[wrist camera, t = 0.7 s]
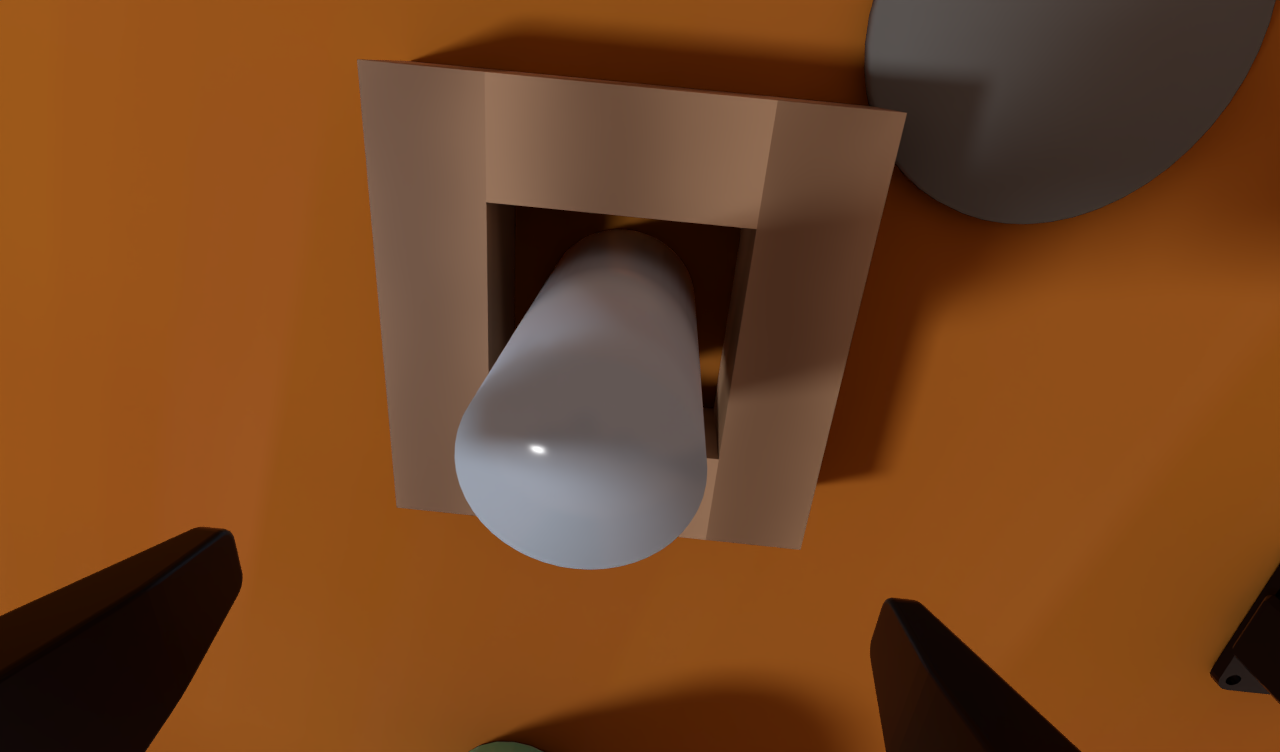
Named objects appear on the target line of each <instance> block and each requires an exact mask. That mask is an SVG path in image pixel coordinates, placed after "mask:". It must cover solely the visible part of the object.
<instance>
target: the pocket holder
mask: <svg viewBox="0 0 1280 752" xmlns="http://www.w3.org/2000/svg"><path fill="white" fill-rule="evenodd" d="M357 63H358V74H359V86H360V97H361V108H362V120H363V131H364V142H365V154H366V165H367V176H368V187H369V199H370V210H371V221H372V233H373V244H374V255H375V267H376V278H377V289H378V301H379V312H380V323H381V334H382V346H383V357H384V368H385V380H386V391H387V402H388V414H389V425H390V436H391V447H392V459H393V470H394V481H395V493H396V504H397V507H398V508H408V509H417V510H427V511H436V512H446V513H455V514H465V515H474V516H476V514H475V513H474V512H473V510H472V509H471V507H470V505H469V504H468V502H467V500H466V498H465V496H464V494H463V492H462V489H461V487H460V484H459V480H458V477H457V473H456V466H455V441H456V436H457V431H458V428H459V425H460V422H461V420H462V417H463V415H464V413H465V411H466V410H467V408H468V406H469V404H470V402H471V401H472V399H473V398H474V396H475V394H476V393H477V391H478V390H479V388H480V386H481V385H482V383H483V382H484V380H485V378H486V377H487V375H488V374H489V372H490V370H491V369H492V367H493V366H494V364H495V362H496V361H497V359H498V358H499V356H500V354H501V353H502V351H503V350H504V348H505V346H506V345H507V343H508V342H509V340H510V338H511V337H512V335H513V334H514V292H515V205H518V206H529V207H539V208H549V209H559V210H569V211H579V212H589V213H599V214H609V215H619V216H629V217H639V218H649V219H659V220H669V221H679V222H689V223H699V224H710V225H720V226H730V227H740V228H741V234H740V241H739V247H738V254H737V260H736V267H735V273H734V279H733V286H732V292H731V299H730V305H729V312H728V318H727V325H726V331H725V338H724V344H723V351H722V357H721V364H720V370H719V377H718V383H717V390H716V396H715V403H714V409H712V408H703V416H704V430H705V443H706V457H707V481H706V487H705V491H704V496H703V499H702V501H701V504H700V506H699V509H698V511H697V512H696V514H695V516H694V517H693V519H692V521H691V522H690V523H689V525H688V526H687V527H686V528H685V530H684V531H683V532H682V533H681V534H680V535H679V536H678V537H684V538H694V539H703V540H713V541H722V542H732V543H741V544H751V545H761V546H770V547H780V548H789V549H799V550H800V549H801V545H802V541H803V537H804V533H805V529H806V525H807V520H808V516H809V512H810V508H811V504H812V500H813V496H814V492H815V488H816V484H817V479H818V475H819V471H820V467H821V463H822V459H823V455H824V451H825V447H826V443H827V439H828V434H829V430H830V426H831V422H832V418H833V414H834V410H835V406H836V402H837V398H838V394H839V389H840V385H841V381H842V377H843V373H844V369H845V365H846V361H847V357H848V353H849V349H850V344H851V340H852V336H853V332H854V328H855V324H856V320H857V316H858V312H859V308H860V303H861V299H862V295H863V291H864V287H865V283H866V279H867V275H868V271H869V267H870V263H871V258H872V254H873V250H874V246H875V242H876V238H877V234H878V230H879V226H880V222H881V218H882V213H883V209H884V205H885V201H886V197H887V193H888V189H889V185H890V181H891V177H892V173H893V168H894V164H895V160H896V156H897V152H898V148H899V144H900V140H901V136H902V132H903V127H904V123H905V119H906V115H907V113H905V112H899V111H894V110H889V109H884V108H878V107H873V106H865V105H855V104H845V103H835V102H824V101H814V100H804V99H793V98H783V97H773V96H762V95H752V94H742V93H732V92H721V91H711V90H701V89H690V88H680V87H670V86H660V85H649V84H639V83H629V82H618V81H608V80H598V79H588V78H577V77H567V76H557V75H546V74H536V73H526V72H515V71H505V70H495V69H485V68H474V67H464V66H454V65H443V64H433V63H423V62H413V61H389V60H357Z"/></svg>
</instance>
